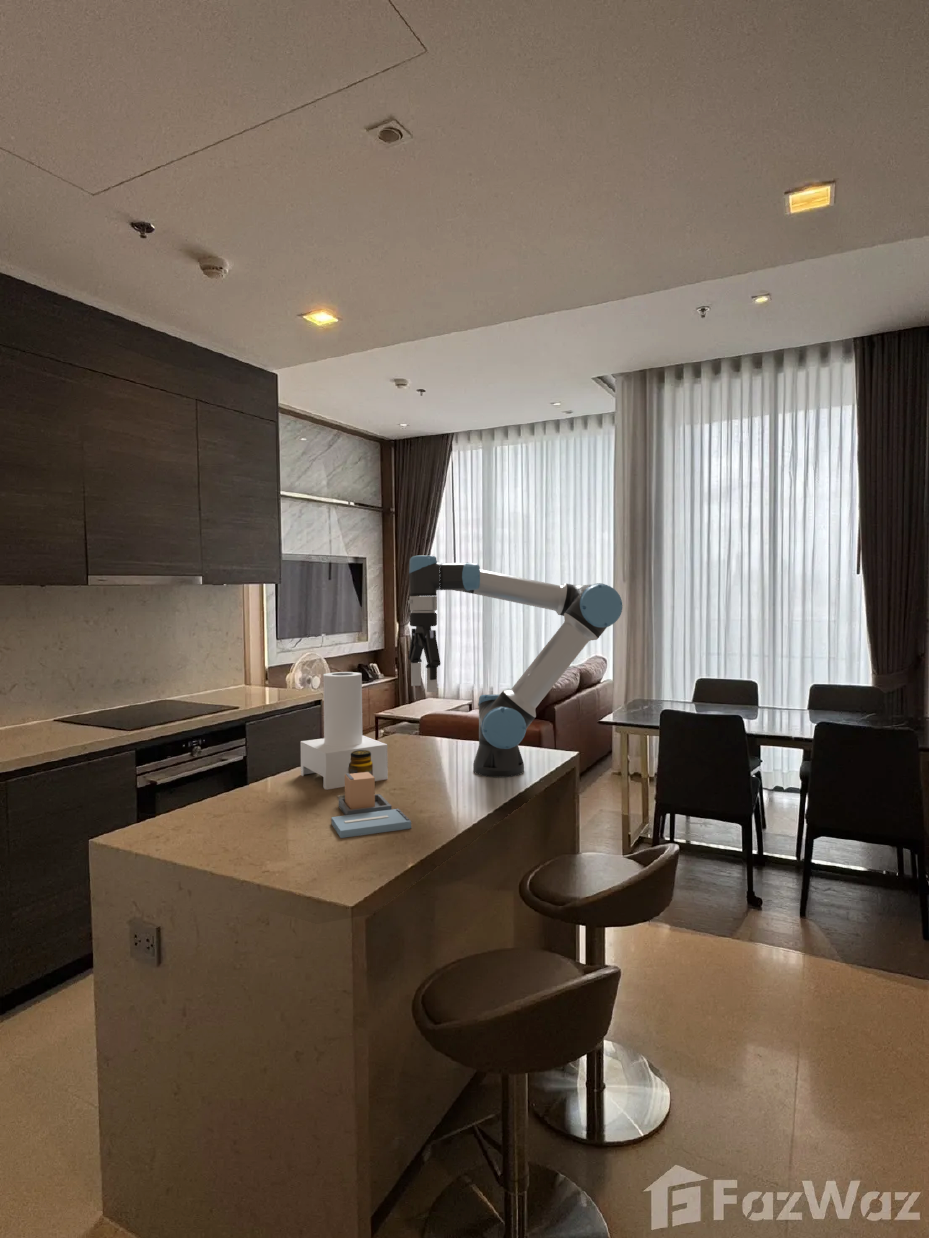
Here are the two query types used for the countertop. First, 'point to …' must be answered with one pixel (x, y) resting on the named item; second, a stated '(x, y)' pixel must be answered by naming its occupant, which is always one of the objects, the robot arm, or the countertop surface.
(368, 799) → the stub
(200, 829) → the countertop surface
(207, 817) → the countertop surface
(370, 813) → the board
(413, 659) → the robot arm
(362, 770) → the condiment
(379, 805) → the tray
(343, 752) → the paper towel holder
